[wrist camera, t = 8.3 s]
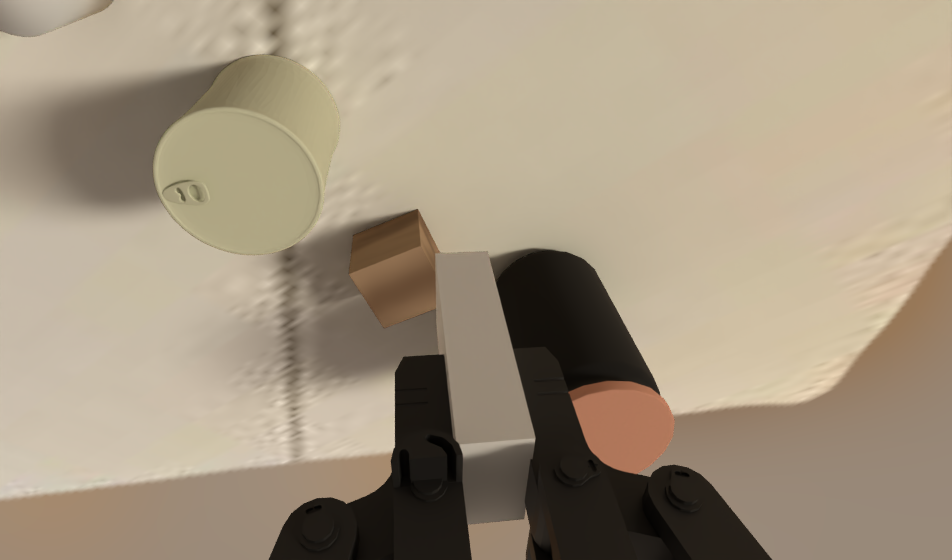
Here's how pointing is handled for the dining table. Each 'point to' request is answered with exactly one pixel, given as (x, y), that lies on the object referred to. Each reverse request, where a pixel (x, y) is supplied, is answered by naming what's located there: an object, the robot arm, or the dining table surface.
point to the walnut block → (396, 268)
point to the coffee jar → (588, 355)
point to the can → (250, 157)
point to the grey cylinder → (44, 14)
